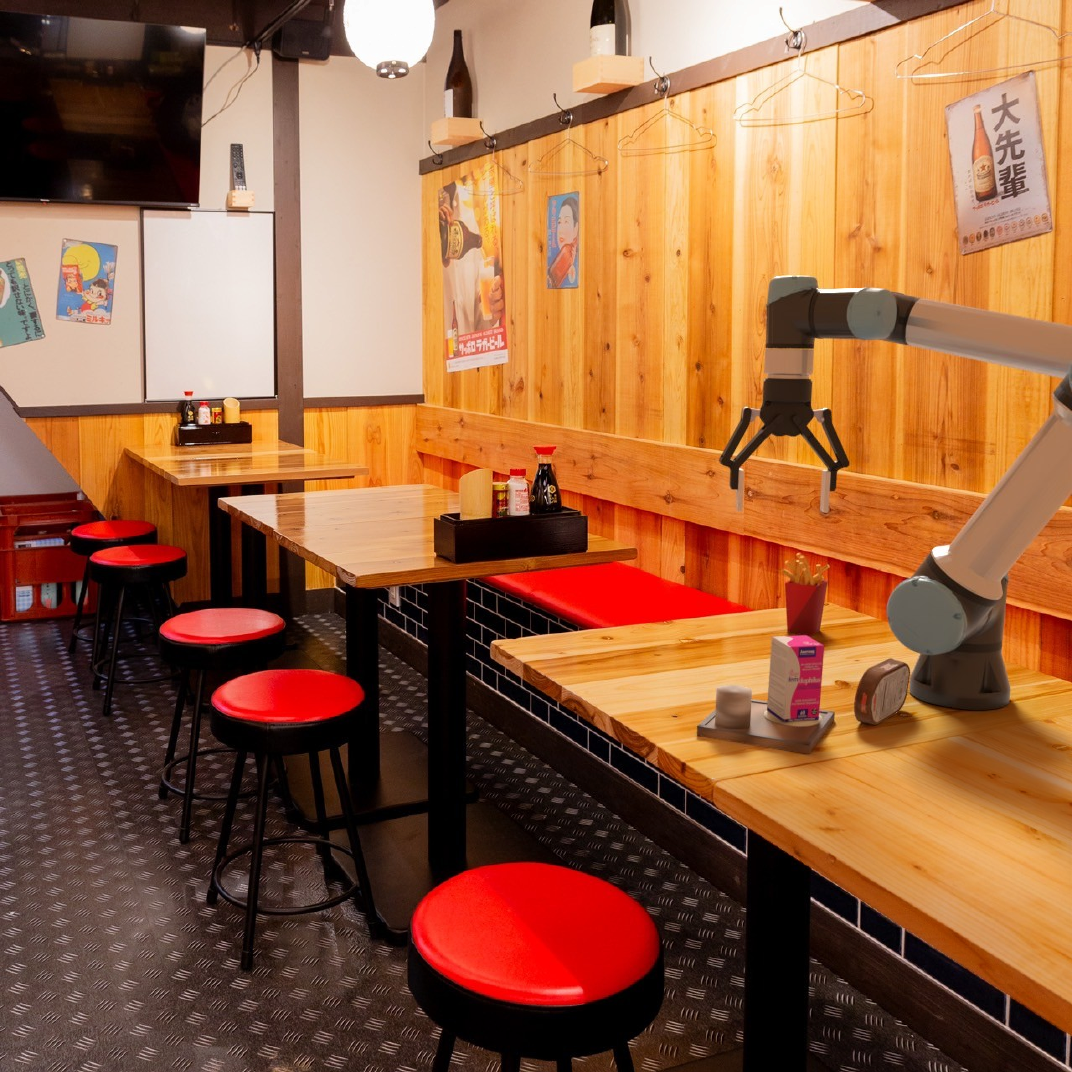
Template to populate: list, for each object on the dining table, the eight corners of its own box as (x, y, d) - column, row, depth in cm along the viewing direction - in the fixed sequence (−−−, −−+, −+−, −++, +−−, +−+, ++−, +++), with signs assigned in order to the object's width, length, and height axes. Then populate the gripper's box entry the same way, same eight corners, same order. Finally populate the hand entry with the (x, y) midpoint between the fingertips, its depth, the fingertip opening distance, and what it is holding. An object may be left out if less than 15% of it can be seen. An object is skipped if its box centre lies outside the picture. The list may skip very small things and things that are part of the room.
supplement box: (784, 723, 167) (788, 646, 165) (765, 710, 172) (769, 635, 170) (820, 720, 168) (825, 644, 166) (801, 708, 174) (805, 633, 172)
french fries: (826, 630, 227) (830, 554, 224) (812, 639, 220) (816, 561, 217) (783, 623, 231) (786, 549, 229) (767, 632, 224) (771, 556, 222)
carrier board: (834, 720, 173) (836, 680, 172) (809, 754, 158) (811, 710, 157) (729, 704, 179) (731, 665, 178) (696, 735, 165) (698, 693, 164)
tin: (891, 704, 181) (895, 652, 180) (911, 708, 179) (915, 655, 178) (850, 728, 170) (853, 672, 168) (871, 733, 168) (874, 676, 166)
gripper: (861, 377, 186) (854, 508, 189) (705, 375, 186) (700, 506, 190) (874, 378, 178) (865, 515, 182) (711, 376, 179) (706, 512, 182)
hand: (781, 511), depth 186 cm, fingers open, 13 cm apart
